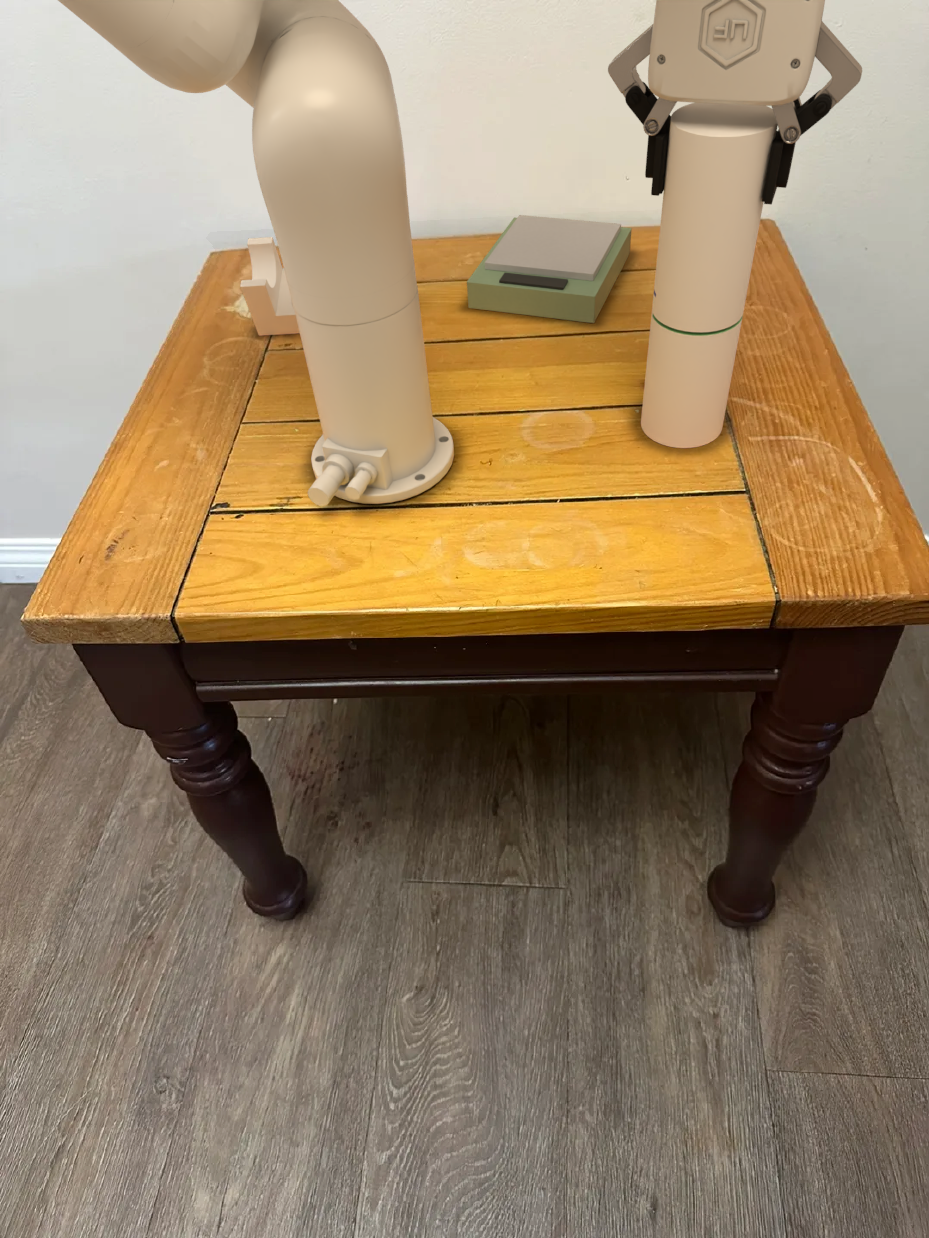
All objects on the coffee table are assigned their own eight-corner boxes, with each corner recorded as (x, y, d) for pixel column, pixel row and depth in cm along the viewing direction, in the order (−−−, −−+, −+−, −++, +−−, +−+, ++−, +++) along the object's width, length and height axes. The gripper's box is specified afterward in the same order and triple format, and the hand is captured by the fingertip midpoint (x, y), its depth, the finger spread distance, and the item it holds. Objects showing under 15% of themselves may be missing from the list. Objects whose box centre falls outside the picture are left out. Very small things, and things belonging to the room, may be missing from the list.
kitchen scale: (594, 323, 90) (595, 289, 87) (468, 308, 94) (466, 274, 91) (629, 254, 100) (632, 220, 97) (514, 242, 104) (513, 210, 101)
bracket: (261, 342, 94) (240, 287, 87) (268, 295, 97) (248, 238, 90) (379, 335, 93) (367, 279, 86) (382, 288, 96) (370, 230, 90)
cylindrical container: (718, 400, 79) (771, 97, 61) (726, 448, 75) (786, 135, 56) (639, 400, 80) (667, 101, 62) (642, 448, 75) (673, 139, 57)
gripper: (592, -112, 49) (583, 204, 63) (921, -120, 45) (835, 225, 58) (623, -136, 54) (608, 164, 67) (925, -145, 49) (845, 180, 62)
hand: (713, 190), depth 62 cm, fingers closed on cylindrical container, 7 cm apart
